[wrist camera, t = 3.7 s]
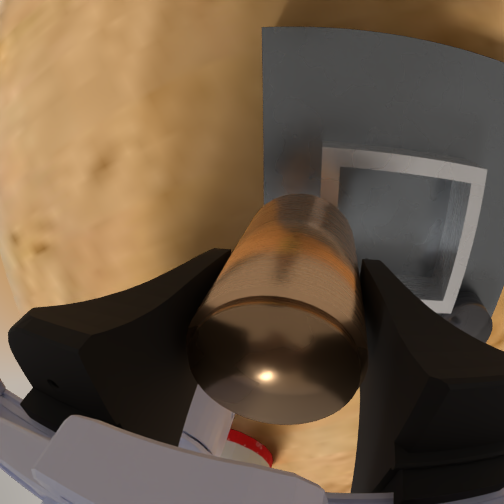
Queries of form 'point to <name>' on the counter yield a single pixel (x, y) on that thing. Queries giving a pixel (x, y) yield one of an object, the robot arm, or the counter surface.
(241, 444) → the white and red dome
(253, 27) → the counter surface
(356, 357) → the shiny metal cylinder
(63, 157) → the counter surface
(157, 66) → the counter surface
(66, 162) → the counter surface
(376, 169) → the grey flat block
